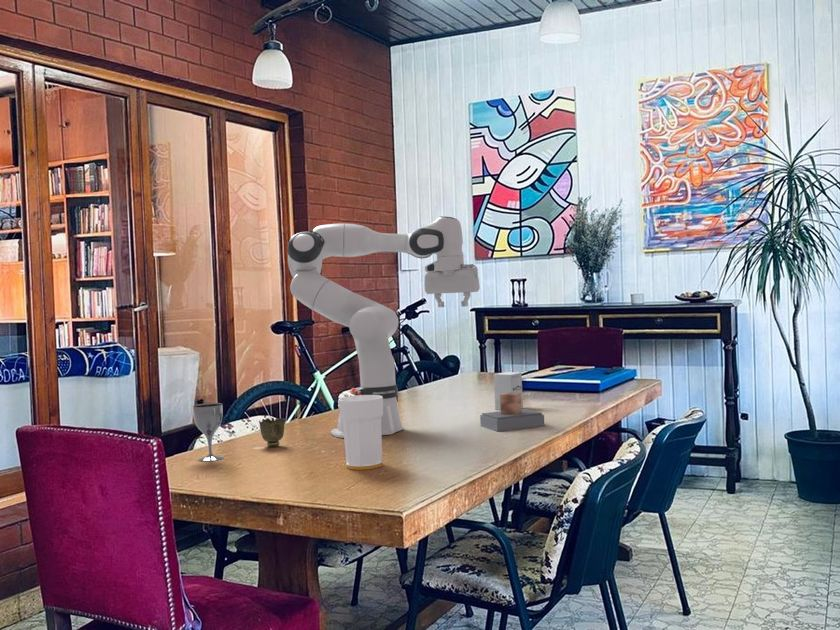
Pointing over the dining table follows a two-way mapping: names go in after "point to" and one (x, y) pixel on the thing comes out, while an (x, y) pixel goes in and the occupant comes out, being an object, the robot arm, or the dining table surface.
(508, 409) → the terracotta block
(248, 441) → the dining table surface
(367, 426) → the cup
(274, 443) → the cup
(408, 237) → the robot arm
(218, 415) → the wine glass
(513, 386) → the supplement box
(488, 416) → the plinth
